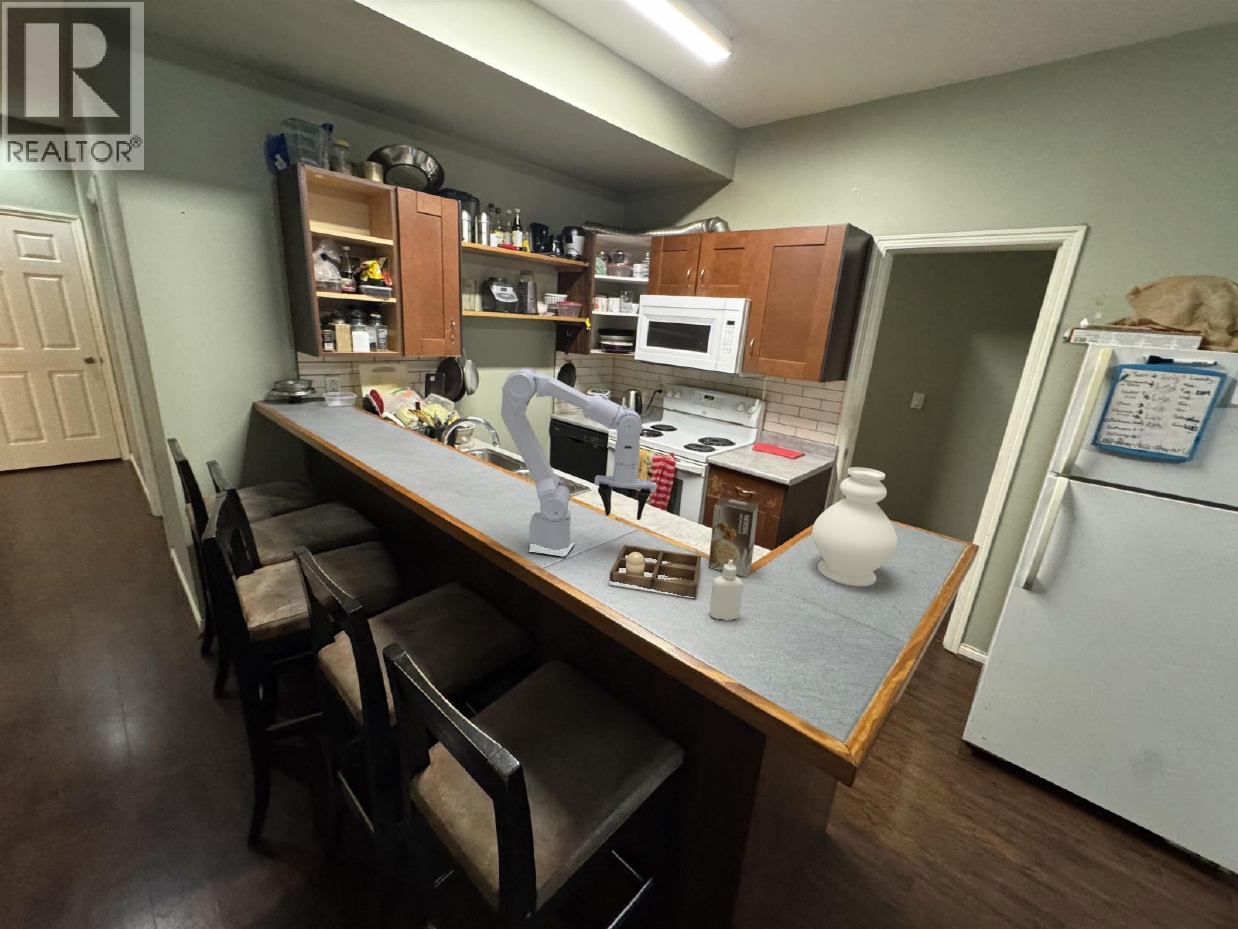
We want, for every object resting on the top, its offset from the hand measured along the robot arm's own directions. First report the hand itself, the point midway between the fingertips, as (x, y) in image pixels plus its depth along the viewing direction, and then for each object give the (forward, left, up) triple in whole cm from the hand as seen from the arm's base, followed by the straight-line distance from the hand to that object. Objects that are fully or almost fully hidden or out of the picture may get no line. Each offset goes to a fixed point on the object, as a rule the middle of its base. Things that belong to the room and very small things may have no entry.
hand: (623, 516), depth 117 cm
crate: (+10, -9, -9) cm, 17 cm away
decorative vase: (+53, +6, -10) cm, 54 cm away
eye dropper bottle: (+25, -21, -10) cm, 34 cm away
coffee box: (+26, 0, -10) cm, 28 cm away
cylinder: (+6, -13, -9) cm, 16 cm away
